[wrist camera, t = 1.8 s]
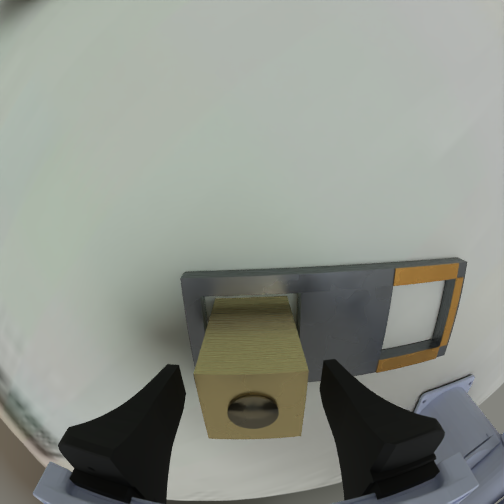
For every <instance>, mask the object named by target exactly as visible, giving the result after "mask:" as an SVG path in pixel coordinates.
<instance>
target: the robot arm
mask: <svg viewBox="0 0 504 504" xmlns="http://www.w3.org/2000/svg"><path fill="white" fill-rule="evenodd" d="M474 378H475V376H474V375H470V376H468V377H466V378H463V379H461V380H459V381H456V382H454V383H451V384H448V385H446V386H443V387H440V388H437V389H435V390H432V391H429V392H426V393H424V394H423V395H422V396H421V398H420V400H419V402H418V404H417V406H416V409H415V411H414V413H413V412H411V411H408V410H405V409H403V408H400V407H398V406H396V405H394V404H392V403H390V402H388V401H386V400H385V399H383V398H381V397H380V396H378V395H376V394H375V393H373V392H372V391H371V390H369V389H368V388H367V387H365V386H364V385H363V384H362V383H360V382H359V381H358V380H357V379H356V378H355V377H354V376H353V375H351V374H350V373H349V372H348V371H347V370H346V369H345V368H344V367H343V366H342V365H341V364H340V363H339V362H338V361H337V360H336V359H330V360H323V368H322V375H321V382H320V394H321V399H322V404H323V408H324V410H325V413H326V416H327V419H328V422H329V425H330V428H331V430H332V433H333V436H334V439H335V443H336V447H337V452H338V457H339V462H340V468H341V474H342V482H343V490H344V500H345V501H341V502H336V503H331V504H494V503H496V502H497V501H498V500H499V499H500V498H502V497H503V496H504V433H503V434H499V433H498V432H497V430H496V429H495V428H494V426H493V425H492V424H491V422H490V421H489V420H488V419H487V417H486V416H485V415H484V413H483V412H482V411H481V410H480V408H479V407H478V406H477V405H476V404H475V402H474V401H473V400H472V399H471V397H470V396H469V395H468V394H467V393H468V391H469V389H470V387H471V385H472V383H473V381H474ZM185 396H186V392H185V388H184V384H183V380H182V376H181V372H180V367H179V365H171V364H167V365H166V366H165V367H164V368H163V369H162V370H161V371H160V372H159V373H158V374H157V375H156V376H155V377H154V378H153V379H152V380H151V381H150V382H149V383H148V384H147V385H146V386H145V387H144V388H143V389H142V390H140V391H139V392H138V393H137V394H136V395H135V396H133V397H132V398H131V399H129V400H128V401H127V402H125V403H124V404H122V405H121V406H119V407H118V408H116V409H114V410H112V411H110V412H109V413H107V414H105V415H103V416H101V417H98V418H96V419H94V420H91V421H88V422H86V423H82V424H79V425H75V426H72V427H69V428H68V429H67V431H66V432H65V434H64V436H63V437H62V439H61V441H60V442H59V444H58V447H59V450H60V452H61V453H62V455H63V456H64V457H65V458H66V459H67V460H68V462H69V463H70V464H71V465H72V466H73V467H74V470H73V472H71V471H69V470H68V469H66V468H64V467H62V466H59V465H57V464H55V463H53V462H49V464H48V466H47V467H46V469H45V471H44V473H43V475H42V477H41V479H40V480H39V482H38V484H37V486H36V488H35V490H34V492H33V495H34V496H35V497H36V498H38V499H39V500H40V501H41V502H43V503H44V504H166V497H167V482H168V472H169V464H170V457H171V451H172V446H173V442H174V439H175V436H176V432H177V429H178V426H179V423H180V419H181V416H182V413H183V409H184V403H185ZM498 504H504V499H503V500H501V501H500V502H499V503H498Z"/></svg>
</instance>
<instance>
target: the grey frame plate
mask: <svg viewBox="0 0 504 504" xmlns="http://www.w3.org/2000/svg"><path fill="white" fill-rule="evenodd" d="M466 267H467V262H466V261H464V260H462V259H460V258H448V259H435V260H421V261H406V262H391V263H376V264H359V265H341V266H322V267H302V268H280V269H256V270H229V271H198V272H185V273H184V274H183V276H182V277H181V278H180V279H181V286H182V294H183V301H184V308H185V314H186V321H187V327H188V333H189V339H190V344H191V350H192V355H193V361H194V366H195V367H196V364H197V360H198V356H199V353H200V349H201V346H202V343H203V339H204V336H205V332H206V329H207V325H208V324H207V316H206V307H205V299H204V296H240V295H266V294H287V293H298V311H297V332H298V335H299V339H300V342H301V346H302V349H303V352H304V356H305V359H306V363H307V366H308V370H309V373H308V382H313V381H321V375H322V368H323V360H330V359H336V360H337V361H338V362H339V363H340V364H341V365H342V366H343V367H344V368H345V369H346V370H347V371H348V372H349V373H350V374H351V375H353V376H357V375H363V374H368V373H373V372H376V373H378V372H383V371H388V370H392V369H397V368H401V367H405V366H409V365H413V364H417V363H421V362H424V361H428V360H432V359H435V358H436V357H439V356H442V355H444V354H445V351H446V348H447V345H448V342H449V339H450V336H451V332H452V329H453V325H454V322H455V318H456V314H457V310H458V306H459V302H460V298H461V293H462V288H463V283H464V278H465V273H466ZM441 280H446V282H445V287H444V292H443V297H442V302H441V307H440V311H439V315H438V319H437V323H436V327H435V331H434V334H433V338H432V339H431V340H427V341H423V342H418V343H414V344H409V345H405V346H400V347H395V348H389V349H384V350H382V345H383V341H384V336H385V331H386V326H387V320H388V315H389V309H390V303H391V297H392V290H393V286H398V285H408V284H417V283H425V282H433V281H441Z"/></svg>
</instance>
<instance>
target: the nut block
mask: <svg viewBox="0 0 504 504" xmlns="http://www.w3.org/2000/svg"><path fill="white" fill-rule="evenodd" d="M308 373H309V370H308V366H307V363H306V359H305V356H304V352H303V349H302V346H301V342H300V339H299V335H298V332H297V328H296V325H295V322H294V318H293V315H292V311H291V308H290V305H289V301H288V298H287V296H274V297H250V298H215V302H214V305H213V308H212V312H211V315H210V319H209V322H208V325H207V329H206V332H205V336H204V339H203V343H202V346H201V349H200V353H199V356H198V360H197V364H196V367H195V371H194V379H195V383H196V388H197V392H198V397H199V401H200V405H201V409H202V413H203V418H204V421H205V425H206V429H207V433H208V437H209V438H211V439H267V438H283V437H295V436H301V432H302V424H303V417H304V409H305V401H306V392H307V383H308Z"/></svg>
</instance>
